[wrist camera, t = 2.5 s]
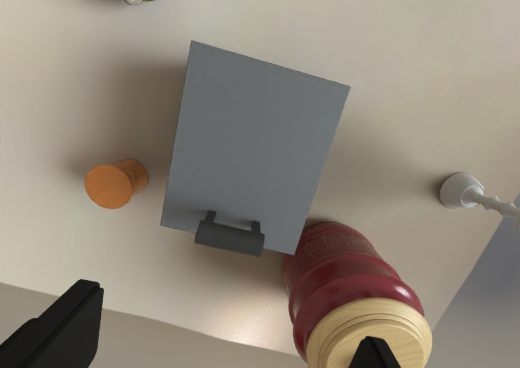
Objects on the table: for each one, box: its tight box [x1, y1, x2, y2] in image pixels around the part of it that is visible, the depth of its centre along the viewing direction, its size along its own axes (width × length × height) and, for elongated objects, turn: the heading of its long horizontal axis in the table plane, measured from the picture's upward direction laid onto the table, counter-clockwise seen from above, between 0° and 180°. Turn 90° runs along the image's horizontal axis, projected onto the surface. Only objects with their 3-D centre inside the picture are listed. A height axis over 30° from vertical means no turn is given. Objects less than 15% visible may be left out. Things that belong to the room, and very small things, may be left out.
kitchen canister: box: [282, 223, 432, 368], centre depth 27 cm, size 13×13×18 cm
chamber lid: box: [160, 41, 350, 257], centre depth 19 cm, size 15×13×5 cm
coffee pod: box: [85, 159, 148, 209], centre depth 30 cm, size 5×5×5 cm
